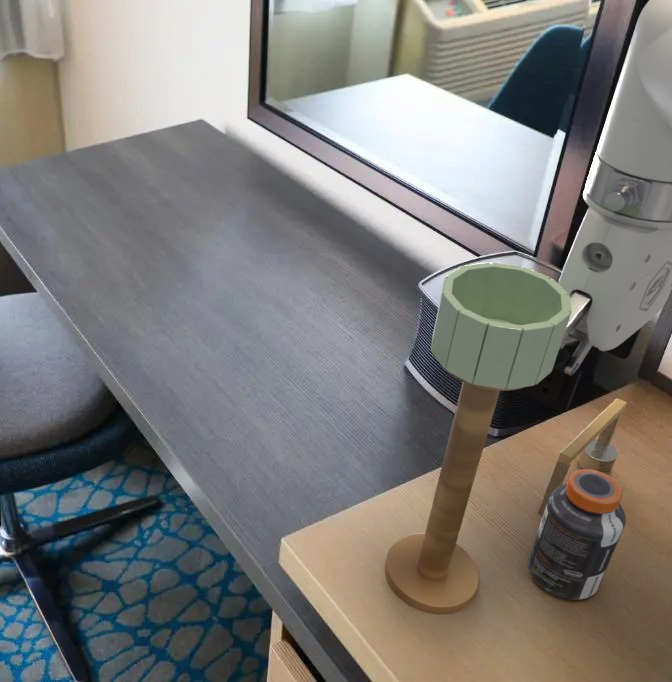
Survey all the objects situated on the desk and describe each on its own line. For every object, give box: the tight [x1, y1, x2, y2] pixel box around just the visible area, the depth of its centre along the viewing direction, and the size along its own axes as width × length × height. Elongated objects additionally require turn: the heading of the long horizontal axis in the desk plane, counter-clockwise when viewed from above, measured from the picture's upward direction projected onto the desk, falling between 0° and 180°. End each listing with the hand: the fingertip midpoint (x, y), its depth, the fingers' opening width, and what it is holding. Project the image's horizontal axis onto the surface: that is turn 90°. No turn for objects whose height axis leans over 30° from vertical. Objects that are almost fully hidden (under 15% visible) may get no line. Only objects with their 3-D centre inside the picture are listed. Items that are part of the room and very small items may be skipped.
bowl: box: [430, 261, 572, 391], centre depth 54 cm, size 8×8×5 cm
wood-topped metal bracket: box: [537, 397, 628, 518], centre depth 76 cm, size 12×3×8 cm, turn 130°
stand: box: [384, 372, 525, 615], centre depth 63 cm, size 8×8×26 cm
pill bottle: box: [527, 468, 627, 601], centre depth 67 cm, size 6×6×11 cm
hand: (578, 375), depth 64 cm, fingers open, 9 cm apart
